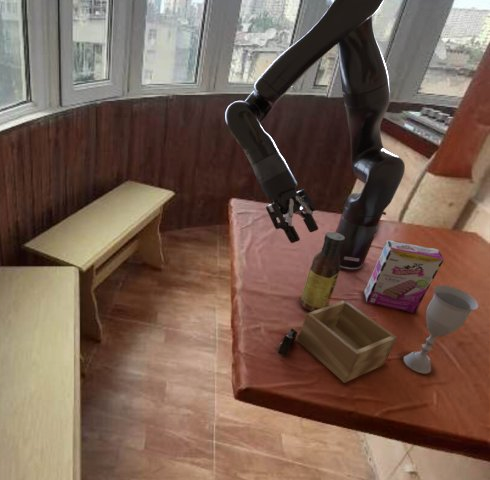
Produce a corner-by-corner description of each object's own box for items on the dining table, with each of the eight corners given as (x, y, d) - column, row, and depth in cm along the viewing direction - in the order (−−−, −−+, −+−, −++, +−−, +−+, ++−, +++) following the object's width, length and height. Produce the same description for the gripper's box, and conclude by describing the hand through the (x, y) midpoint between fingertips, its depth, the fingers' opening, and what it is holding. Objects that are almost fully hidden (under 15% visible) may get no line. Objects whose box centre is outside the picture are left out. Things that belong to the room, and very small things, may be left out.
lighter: (280, 348, 93) (289, 326, 93) (290, 352, 92) (298, 330, 92) (274, 351, 86) (284, 328, 86) (284, 356, 85) (294, 333, 85)
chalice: (391, 351, 90) (425, 285, 81) (420, 350, 91) (457, 285, 82) (413, 378, 84) (453, 310, 75) (444, 377, 85) (488, 309, 75)
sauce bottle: (328, 316, 100) (355, 246, 89) (301, 312, 101) (324, 242, 90) (323, 299, 105) (347, 231, 95) (297, 295, 106) (318, 227, 96)
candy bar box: (366, 303, 104) (389, 248, 96) (363, 292, 108) (385, 238, 100) (416, 314, 101) (445, 259, 93) (411, 302, 105) (438, 248, 97)
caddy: (334, 326, 97) (344, 299, 92) (383, 365, 87) (397, 337, 83) (297, 340, 92) (306, 313, 88) (344, 383, 82) (357, 354, 78)
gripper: (269, 175, 93) (303, 240, 91) (302, 162, 101) (333, 222, 99) (245, 189, 99) (276, 250, 98) (278, 176, 107) (307, 232, 106)
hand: (305, 236), depth 99 cm, fingers open, 8 cm apart
